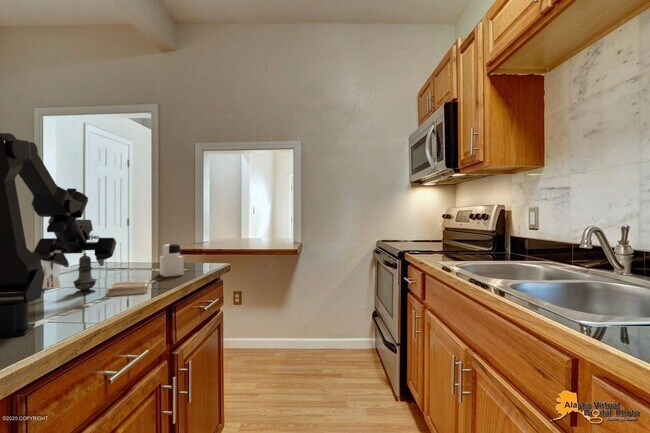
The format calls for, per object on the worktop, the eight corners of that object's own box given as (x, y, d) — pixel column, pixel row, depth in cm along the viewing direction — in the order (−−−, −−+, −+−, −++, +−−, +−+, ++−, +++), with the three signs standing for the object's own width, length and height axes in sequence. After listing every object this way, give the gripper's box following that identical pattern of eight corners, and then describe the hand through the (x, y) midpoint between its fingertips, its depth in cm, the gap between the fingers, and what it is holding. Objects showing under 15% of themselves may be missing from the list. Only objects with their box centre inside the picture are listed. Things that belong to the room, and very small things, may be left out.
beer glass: (30, 288, 106) (30, 241, 106) (56, 284, 112) (56, 239, 112) (40, 290, 103) (41, 242, 103) (66, 286, 109) (67, 240, 109)
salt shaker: (84, 295, 97) (84, 254, 97) (67, 294, 98) (67, 253, 98) (101, 290, 103) (101, 252, 103) (85, 289, 104) (85, 251, 104)
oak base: (147, 292, 101) (147, 285, 101) (108, 296, 97) (108, 288, 97) (148, 286, 110) (148, 279, 110) (113, 288, 106) (113, 282, 106)
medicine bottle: (178, 272, 136) (178, 243, 136) (183, 275, 130) (183, 244, 130) (159, 274, 131) (159, 244, 131) (164, 277, 126) (164, 245, 126)
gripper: (114, 210, 98) (126, 244, 109) (38, 209, 93) (58, 245, 104) (104, 239, 91) (117, 272, 101) (21, 240, 86) (45, 275, 97)
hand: (85, 265), depth 101 cm, fingers open, 9 cm apart
